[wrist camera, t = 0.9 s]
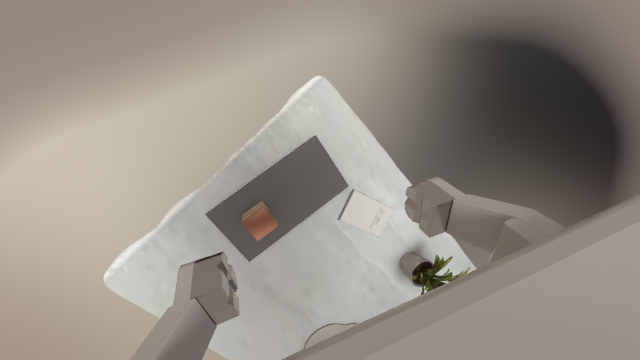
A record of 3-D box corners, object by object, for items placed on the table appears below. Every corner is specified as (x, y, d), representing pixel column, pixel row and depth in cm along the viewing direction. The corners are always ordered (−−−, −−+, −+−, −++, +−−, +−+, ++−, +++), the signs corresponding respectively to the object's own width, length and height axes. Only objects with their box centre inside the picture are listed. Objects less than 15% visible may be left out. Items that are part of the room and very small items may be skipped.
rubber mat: (347, 185, 57) (348, 185, 57) (249, 260, 54) (249, 261, 54) (315, 135, 53) (315, 135, 53) (206, 213, 50) (205, 214, 50)
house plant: (439, 267, 70) (492, 305, 55) (401, 296, 68) (445, 344, 53) (422, 229, 66) (474, 259, 50) (380, 259, 64) (422, 299, 49)
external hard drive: (351, 188, 59) (391, 207, 63) (336, 218, 59) (376, 235, 63) (354, 189, 57) (394, 209, 61) (339, 220, 57) (380, 238, 62)
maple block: (275, 217, 54) (278, 225, 49) (257, 231, 53) (257, 241, 48) (261, 200, 52) (263, 207, 47) (242, 214, 52) (241, 223, 47)
